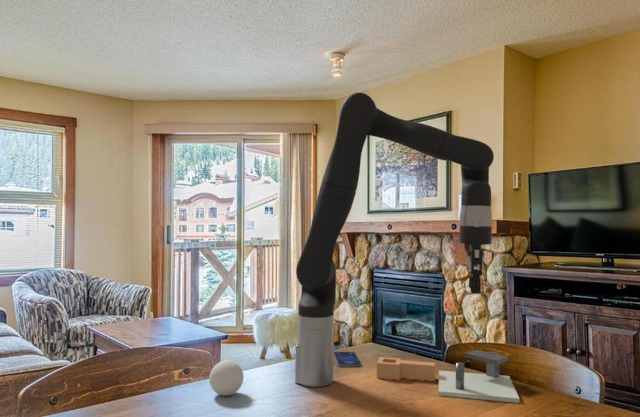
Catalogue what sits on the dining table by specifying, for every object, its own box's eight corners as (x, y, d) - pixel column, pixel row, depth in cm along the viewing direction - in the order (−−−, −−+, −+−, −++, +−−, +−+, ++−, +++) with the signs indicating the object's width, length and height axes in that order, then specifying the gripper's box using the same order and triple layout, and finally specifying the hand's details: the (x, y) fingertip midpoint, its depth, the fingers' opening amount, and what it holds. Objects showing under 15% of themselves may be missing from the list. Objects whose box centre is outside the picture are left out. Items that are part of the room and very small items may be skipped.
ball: (233, 402, 108) (234, 367, 109) (202, 398, 111) (203, 363, 111) (248, 391, 116) (249, 357, 116) (219, 387, 118) (220, 355, 119)
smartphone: (355, 351, 152) (363, 365, 137) (355, 354, 151) (363, 368, 137) (332, 351, 151) (337, 365, 136) (332, 354, 151) (337, 368, 136)
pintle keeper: (455, 393, 115) (455, 364, 116) (454, 373, 131) (453, 348, 131) (514, 398, 112) (514, 368, 112) (505, 378, 127) (505, 351, 128)
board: (438, 395, 114) (438, 391, 114) (438, 374, 130) (438, 370, 130) (519, 402, 109) (519, 398, 109) (509, 379, 126) (509, 376, 126)
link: (435, 376, 129) (435, 361, 129) (434, 383, 123) (434, 367, 123) (379, 371, 132) (379, 357, 132) (376, 378, 127) (376, 362, 127)
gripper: (459, 224, 125) (457, 286, 125) (460, 224, 112) (459, 293, 111) (489, 225, 123) (488, 288, 123) (494, 225, 110) (493, 295, 109)
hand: (474, 290), depth 117 cm, fingers open, 8 cm apart
